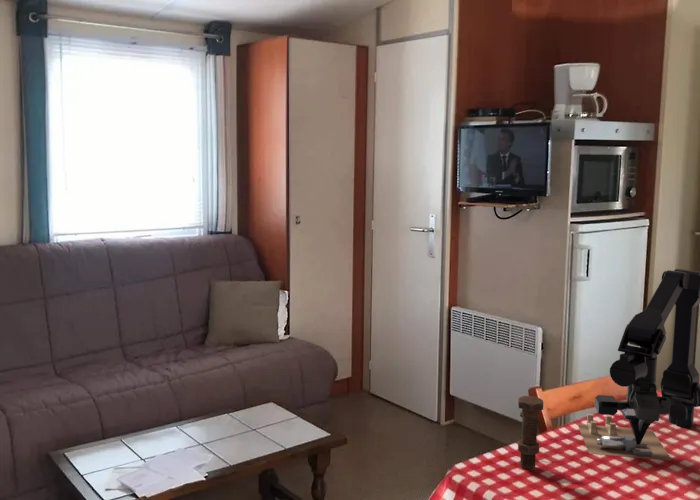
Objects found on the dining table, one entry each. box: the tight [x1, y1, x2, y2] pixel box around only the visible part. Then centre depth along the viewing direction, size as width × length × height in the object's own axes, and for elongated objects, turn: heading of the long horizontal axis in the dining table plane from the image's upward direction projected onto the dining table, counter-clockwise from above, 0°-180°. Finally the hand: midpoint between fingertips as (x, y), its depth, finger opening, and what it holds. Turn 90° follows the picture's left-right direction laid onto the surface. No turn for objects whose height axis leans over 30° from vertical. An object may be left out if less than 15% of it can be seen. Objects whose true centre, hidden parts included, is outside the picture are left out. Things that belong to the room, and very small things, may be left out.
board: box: [577, 423, 673, 461], centre depth 164 cm, size 18×18×1 cm
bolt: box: [517, 395, 544, 470], centre depth 150 cm, size 6×5×15 cm
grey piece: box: [597, 435, 636, 452], centre depth 159 cm, size 8×3×3 cm, turn 81°
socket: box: [632, 442, 652, 456], centre depth 159 cm, size 6×4×1 cm
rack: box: [586, 413, 617, 436], centre depth 170 cm, size 6×6×3 cm
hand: (637, 443), depth 158 cm, fingers closed
